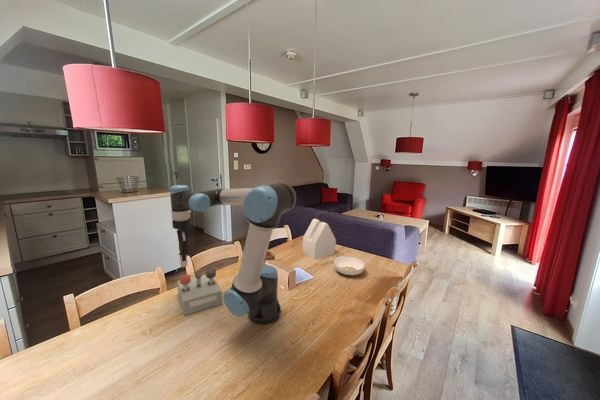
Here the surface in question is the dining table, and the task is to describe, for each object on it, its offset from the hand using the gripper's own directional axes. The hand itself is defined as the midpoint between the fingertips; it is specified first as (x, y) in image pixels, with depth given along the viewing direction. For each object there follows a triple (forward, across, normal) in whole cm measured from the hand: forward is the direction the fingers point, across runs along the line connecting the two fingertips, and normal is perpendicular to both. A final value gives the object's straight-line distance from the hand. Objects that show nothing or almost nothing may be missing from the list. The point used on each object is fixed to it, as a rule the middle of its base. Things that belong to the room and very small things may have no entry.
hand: (184, 266), depth 116 cm
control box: (+19, 0, -6) cm, 20 cm away
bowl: (+19, -18, -94) cm, 97 cm away
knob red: (+15, 0, 0) cm, 15 cm away
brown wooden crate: (+19, +22, -50) cm, 58 cm away
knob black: (+15, 0, -12) cm, 19 cm away
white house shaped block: (+19, +16, -95) cm, 98 cm away
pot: (+12, 0, -6) cm, 14 cm away
